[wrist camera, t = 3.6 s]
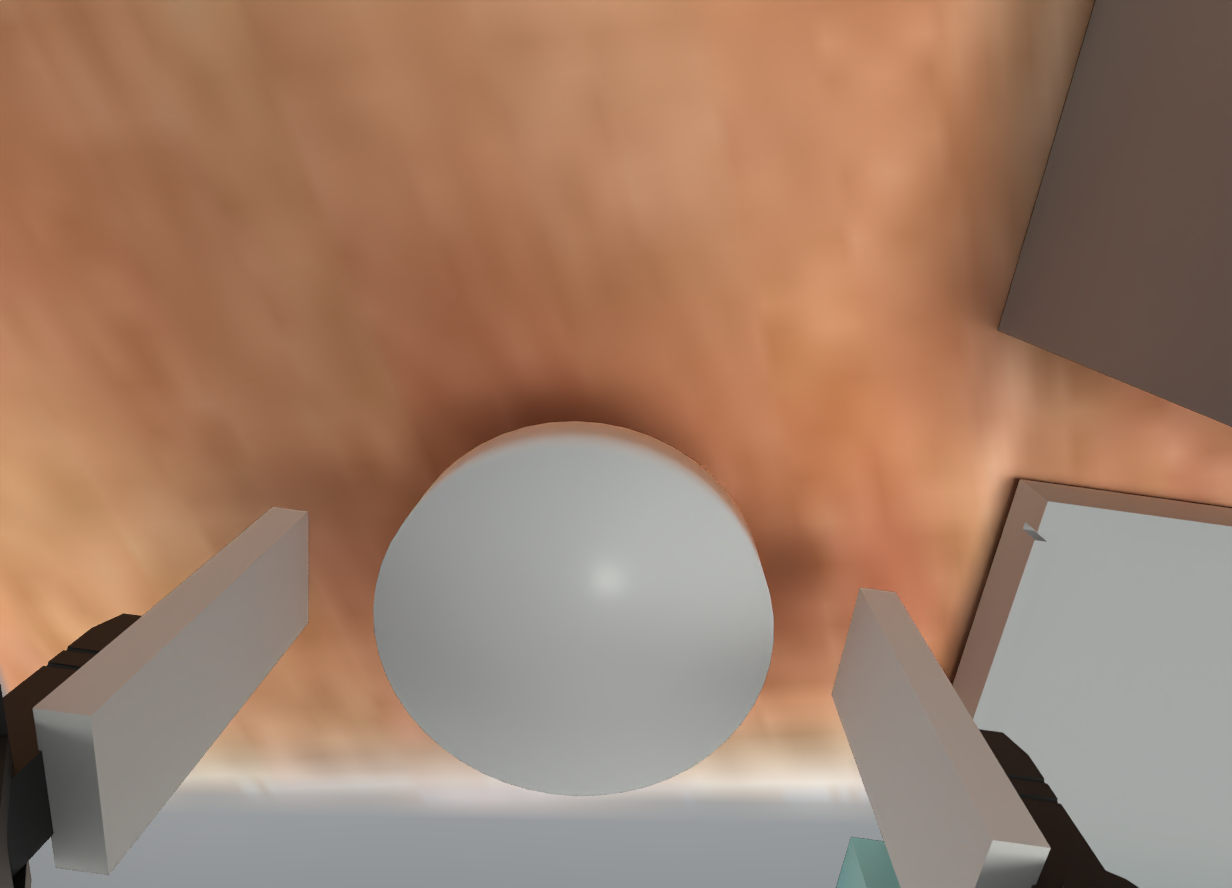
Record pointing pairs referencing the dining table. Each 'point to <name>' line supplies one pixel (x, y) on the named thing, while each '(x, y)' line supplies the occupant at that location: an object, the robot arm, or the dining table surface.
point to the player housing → (1139, 208)
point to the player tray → (1109, 677)
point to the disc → (575, 610)
